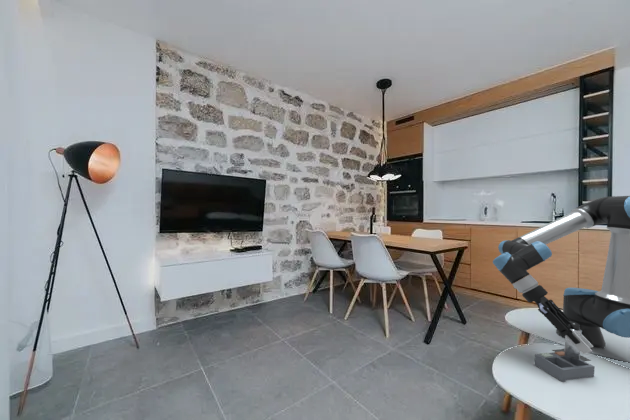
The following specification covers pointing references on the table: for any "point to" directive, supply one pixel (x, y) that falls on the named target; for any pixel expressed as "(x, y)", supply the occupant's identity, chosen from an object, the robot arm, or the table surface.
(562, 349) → the plug mat
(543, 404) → the table surface
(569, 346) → the plug
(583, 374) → the socket block
